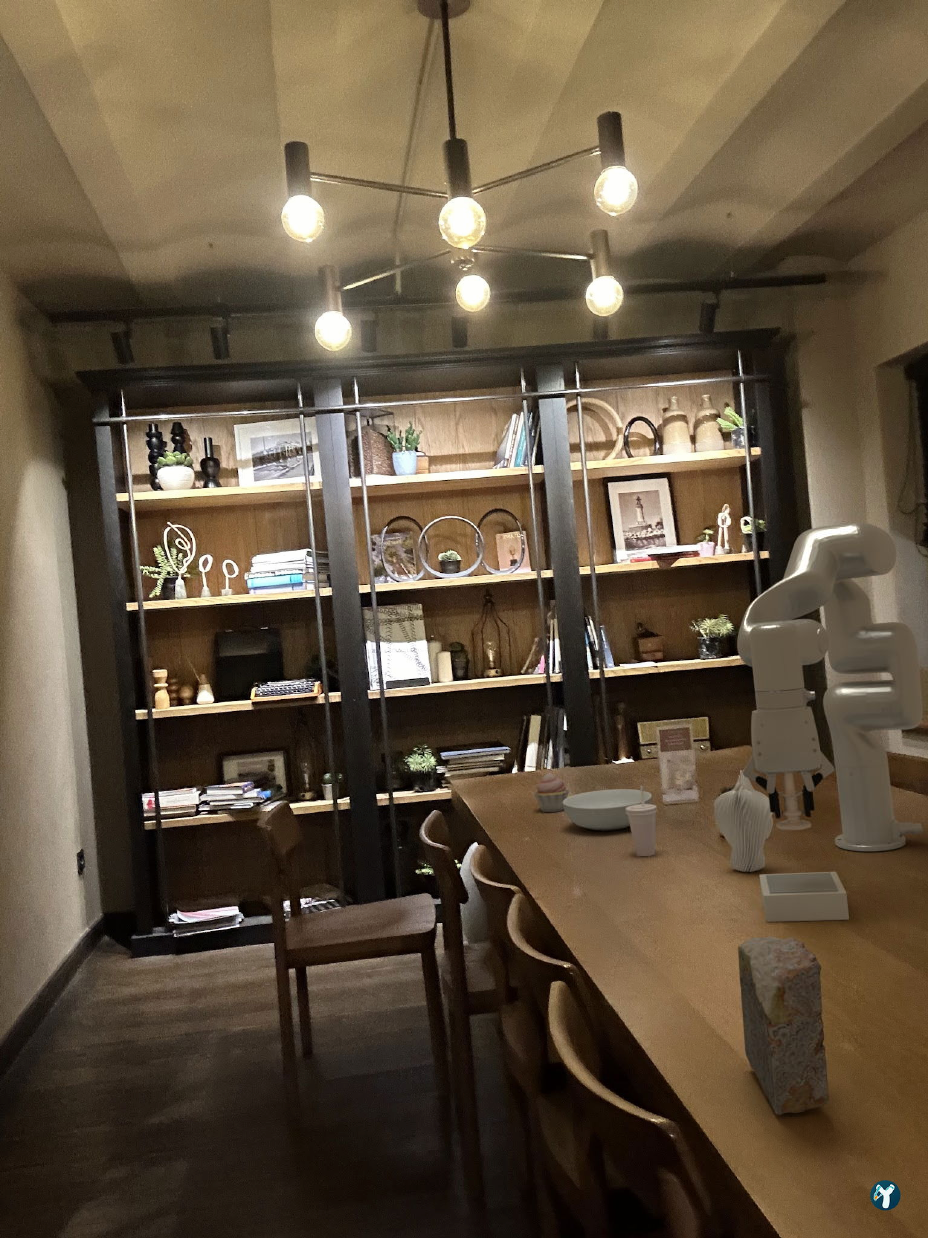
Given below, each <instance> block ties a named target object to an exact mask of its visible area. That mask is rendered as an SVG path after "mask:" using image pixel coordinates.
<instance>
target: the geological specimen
mask: <svg viewBox="0 0 928 1238" xmlns="http://www.w3.org/2000/svg"><path fill="white" fill-rule="evenodd" d="M737 954H738V969H739V970H738V971H739V984H740V999H741V1000H740V1001H741V1008H742V1009H741V1012H742V1023H743V1040H744V1053H745V1056H746V1058H747V1061H748V1063H749V1065H750V1068H751V1069H752V1070H753V1071H754V1074H755V1075H756V1077H757V1079H758V1081H759V1084H760V1085H761V1088H762V1091H763V1093H764V1094H765V1095H766V1096H767V1097H766V1098H767V1099H768V1102H769V1103H770V1105H771V1107H772V1108H773V1111H774V1113H775V1115H781V1116H782V1115H784V1114H787V1113H792V1114H799V1113H802V1112H805V1111H807V1110H811V1109H817V1108H819V1107H823V1106H825V1105H828V1103H829V1101H830V1099H829V1098H830V1096H829V1084H828V1083H829V1082H828V1074H827V1072H828V1067H827V1066H828V1065H827V1059H826V1046H825V1045H824V1041H825V1033H824V1027H825V1026H824V1022H823V1018H822V1015H823V1014H822V1013H823V1003H822V1001H823V999H822V997H823V996H822V982H821V981H822V980H821V971H822V966H821V964H820V962H819V961H818V960H819V959H818V958H817V956H816V955H815V953H813V952H812V951H811V950H809V949H807V948H806V946H805V943H804V942H803V941H799V940H798V939H796V938H795V937H792V936H791V937H789V938H786V939H784V938H778V937H775V936H766V937H750V938H749V939H747V940H745V941H744V942H742V943H741V944H740V945H738V946H737Z"/></svg>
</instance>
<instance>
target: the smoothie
mask: <svg viewBox="0 0 928 1238" xmlns="http://www.w3.org/2000/svg"><path fill="white" fill-rule="evenodd" d="M639 789H640V791H641V800H642V804H639V805H632V806H629V807H627V808H626V814H628V819H629V823H630V826H629V827H630V831H631V836H632V840H633V843H634V844H633V845H634V849H635V853H636V856H637V857H640V856H648V857H652V855H653V856H655V855H656V821H657V820H656V817H657V816H656V815H657V814H656V813H657V812H658V809H657V805H656V804H645V802H644V793H643V791H644V786H643V785H640V786H639Z"/></svg>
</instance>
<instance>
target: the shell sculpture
mask: <svg viewBox="0 0 928 1238" xmlns="http://www.w3.org/2000/svg"><path fill="white" fill-rule="evenodd" d="M739 771H740V772H739V773H740V775H738V778H737V781H735V785H734V786H733V788H732V789H731V790H730V791H729V790H728V791H725V792H724V793H722V794H720V795H719V796H718V797H716V799H715V800H714V803H713V807H714V810H713V814H714V819H715V820H716V823H717V827H718V829H719V831H720V832H721V834H722V835H723V836H724V838H725V840H726V841H727V843H728V844H729V845H730V846H731V854H730V867H732V868H733V869H734V870H735V871H736V870H737V871H740V872H745V873H749V872H750V873H753V872H755V871H760V870H761V869H763V868H765V866H766V859H765V858H766V857H765V852H764V846H765V843H766V841H765V840H766V839H769V837H770V835H771V832H772V829H773V826H774V818H773V816H772V815H773V814H774V812H773V813H771V812H770V804H769V796H767V795H765V794H764V793H762V792H760V791H758V790H755V789H754V786H752V783H751V780H750V779H749V778H747V777H745V776H744V775H743V771H744V769H743V770H742V769H740V770H739ZM746 871H747V872H746Z"/></svg>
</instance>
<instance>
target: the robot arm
mask: <svg viewBox="0 0 928 1238" xmlns="http://www.w3.org/2000/svg"><path fill="white" fill-rule="evenodd" d="M896 560H897V549H896V545H895V541H894V540H893V537H892V536H891V535H890V534H889V532H888V531H886V530H885V529H883V528H881V527H878V526H877V525H874V524H872V523H868V522H861V521H857V522H853V521H852V522H847V523H840V524H833V525H826V526H819V527H814V528H810V529H808V530H805V531H803V532H802V533H801V534H800V535H798V537H797V538H796V540H795V542H794V544H793V548H792V550H791V553H790V556H789V560H788V563H787V567H786V568H785V572H784V575H783V578H782V579H781V580H780V581H777V582H776V583H774V584H772V585H771V587H769V588H768V589H766V590H765V591H764V592H763V593H761V594H760V595H758V597H756V598H755V599H754V600H753V601H752V602H751V603H750V604H749V606H748V607H747V609H746V611H745V613H744V615H743V618H742V620H741V623H740V627H739V630H738V633H737V634H738V635H737V642H736V644H737V646H736V647H737V653H738V655H739V658H740V660H741V661H742V662H743V663H744V664H745V665H747V666H749V667H751V668H752V675H753V684H754V685H753V686H754V692H755V693H754V694H755V702H756V703H755V706H756V710H752V711H751V721H750V722H751V723H750V724H751V725H750V728H751V729H750V736H751V751H752V752H751V756H750V758H749V759H748V762H747V763H746V765H745V767H744V769H743V770H744V771H743V770H742V772H743V775H744V776H745V777H747V778H748V779H749V781H753V782H754V783H756V784H757V785H759V786H760V787H761V788H762V789H764V790H765V791H766V792H767V795H768V798H769V804H770V812H771V813H773V814H774V817H775V819H777V820H778V819H780V818H782V816H781V814H782V813H781V806H780V799H779V798H780V795H778V792H779V791H777V787H776V778H777V777H776V776H777V774H779V775H780V774H783V773H794V774H795V773H800V775H801V777H802V781H803V786H802V787H803V788H802V790H801V791H802V792H803V794H801V795H802V803H803V805H802V806H803V814H804V816H805V817H807V818H811V817H812V813H811V812H812V811H815V801H814V792H813V791H814V790H815V788H817V786H818V785H819V784H820V783H821V782H822V781H823V779H824V778H826V777H827V776H829V775H830V774H832V773H834V772H835V773H836V783H837V784H836V785H837V790H838V791H837V792H838V800H839V810H840V819H841V829H842V833H841V834H839V835H837V836H836V837H835V838H834V842H835V845H836V847H838V848H841V849H844V850H849V851H853V852H855V851H856V852H884V851H892V850H895V849H896V850H897V849H899V848H902V847H904V846H905V845H906V836H905V835H907V834H912V835H916V834H918V835H920V834H921V835H922V834H923V832H924V831H923V825H922V823H921V822H916V823H913V822H912V821H910V822H909V821H908V822H907V821H906V822H899V821H898V820H897V819H896V817H895V815H894V808H893V807H894V805H893V798H892V797H893V795H892V787H891V780H890V779H891V778H890V769H889V761H888V754H887V751H886V749H885V747H884V745H883V743H881V741H880V740H879V739H878V738H877V737H876V736H875V734H873V733H872V732H873V731H899V730H901V731H902V730H913V729H915V728H916V727H918V726H919V725H920V724H921V722H922V719H923V712H924V711H923V695H922V686H921V685H922V684H921V683H922V682H921V675H920V664H919V661H920V660H919V653H918V646H917V641H916V638H915V635H914V632H913V630H912V629H911V628H910V627H909V626H908V625H907V624H905V623H903V622H897V621H896V622H895V621H894V622H893V621H890V622H877V623H874V622H873V619H872V608H871V601H870V597H869V595H868V594H867V593H866V592H865V590H864V589H863V588H862V587H861V586H860V585H859V584H858V583H857V582H856V581H854V580H853V579H860V578H869V577H875V576H876V577H878V576H883V575H886V574H889V573H890V572H891V571H892V570H893V569H894V567H895V565H896ZM822 607H823V613H824V626H825V627H824V626H823V625H822V624H821V623H820V622H819V621H817V620H814V619H809V618H800V617H802V616H804V615H805V616H806V615H807V614H809V613H812V612H814V611H815V610H818V609H819V608H822ZM797 618H800V619H797ZM826 654H827V657H828V663H829V666H830V667H831V669H832V670H833V671H834V672H836V673H837V674H842V675H865V674H866V675H867V674H882V673H883V674H885V673H886V674H889V675H890V676H891V678H892V679H880V680H871V679H870V680H857V681H856V680H855V681H853V680H852V681H844V682H838V683H836V684H834V685H831V686H830V687H829V688H828V689H827V690H825V692H824V696H823V700H822V701H823V702H822V703H823V704H822V705H823V710H824V715H825V717H826V721H827V725H828V729H829V733H830V737H831V742H832V749H833V756H834V764H835V767H834V766H833V764H832V763H831V762H830V761H829V759H828V757H827V756H825V754H824V753H823V752H822V751H821V748H820V746H821V745H820V740H819V734H818V728H817V726H816V721H815V716H814V712H813V710H812V707H811V706H807V704H808V703H809V701H812V700H813V701H814V700H816V693H815V690H811V691H810V690H807V689H806V688H805V682H804V681H805V680H804V671H803V666H805V665H806V666H808V665H813V664H817V663H818V662H820V661H822V659H823V658H824V657H825V656H826ZM755 770H756V771H757V772H758V773H756V772H755ZM817 770H818V771H817ZM811 772H814V773H813V774H811ZM759 773H761V774H764V775H766V777H764V776H762V775H760V774H759Z"/></svg>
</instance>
